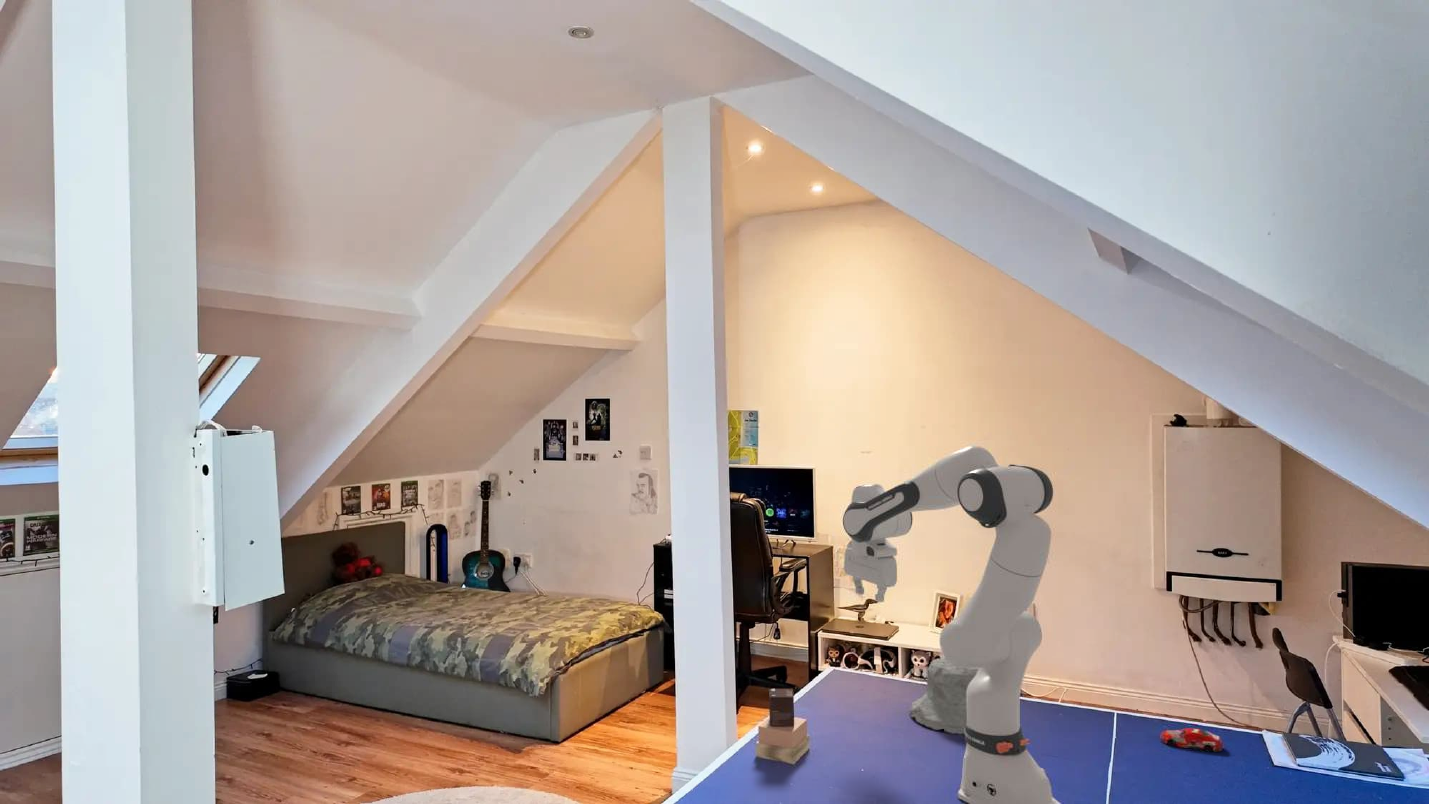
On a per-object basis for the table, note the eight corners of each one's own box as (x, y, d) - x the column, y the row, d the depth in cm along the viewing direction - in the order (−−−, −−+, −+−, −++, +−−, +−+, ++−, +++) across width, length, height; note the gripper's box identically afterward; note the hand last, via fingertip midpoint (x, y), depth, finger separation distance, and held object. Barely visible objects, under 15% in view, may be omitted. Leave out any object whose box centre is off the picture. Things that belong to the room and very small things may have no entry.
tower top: (807, 735, 207) (806, 719, 207) (792, 749, 199) (792, 732, 199) (774, 729, 211) (773, 713, 211) (758, 742, 204) (758, 726, 204)
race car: (1160, 745, 205) (1159, 729, 205) (1160, 737, 210) (1160, 721, 210) (1223, 755, 199) (1222, 738, 199) (1222, 747, 203) (1221, 730, 203)
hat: (904, 729, 218) (903, 672, 218) (914, 698, 240) (913, 646, 240) (1009, 740, 210) (1007, 681, 210) (1009, 708, 231) (1008, 654, 231)
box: (794, 727, 202) (793, 696, 202) (769, 727, 203) (769, 696, 203) (793, 717, 208) (793, 688, 208) (769, 717, 209) (769, 688, 209)
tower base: (809, 750, 207) (809, 734, 207) (794, 767, 199) (793, 750, 199) (772, 743, 212) (772, 728, 212) (756, 759, 203) (755, 742, 203)
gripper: (837, 540, 229) (838, 590, 229) (879, 552, 210) (881, 607, 210) (857, 538, 231) (858, 588, 231) (900, 550, 212) (902, 604, 212)
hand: (869, 597), depth 220 cm, fingers open, 8 cm apart
